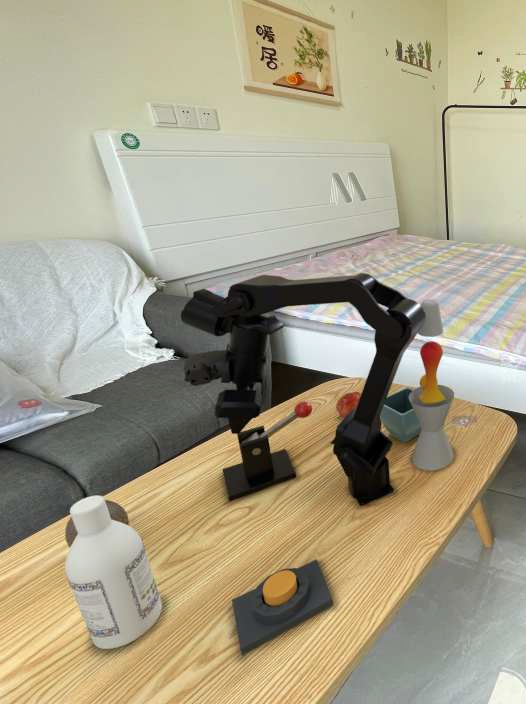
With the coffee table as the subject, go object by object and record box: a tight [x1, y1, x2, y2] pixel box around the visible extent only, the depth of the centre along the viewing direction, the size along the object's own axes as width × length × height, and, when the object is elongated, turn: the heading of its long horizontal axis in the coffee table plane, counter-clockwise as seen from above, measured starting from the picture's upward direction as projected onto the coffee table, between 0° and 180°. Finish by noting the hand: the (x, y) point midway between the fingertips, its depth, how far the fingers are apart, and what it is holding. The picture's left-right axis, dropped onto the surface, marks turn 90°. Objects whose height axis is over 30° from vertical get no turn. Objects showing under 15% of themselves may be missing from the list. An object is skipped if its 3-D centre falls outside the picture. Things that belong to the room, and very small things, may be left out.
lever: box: [242, 400, 313, 443], centre depth 84 cm, size 13×3×3 cm, turn 129°
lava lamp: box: [409, 298, 455, 472], centre depth 86 cm, size 9×9×35 cm
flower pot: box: [380, 387, 422, 443], centre depth 98 cm, size 9×9×9 cm
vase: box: [64, 499, 130, 549], centre depth 67 cm, size 7×7×9 cm
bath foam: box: [64, 494, 163, 650], centre depth 54 cm, size 7×7×20 cm
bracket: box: [221, 425, 297, 503], centre depth 83 cm, size 11×9×9 cm
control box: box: [231, 558, 334, 656], centre depth 60 cm, size 11×8×3 cm
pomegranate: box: [335, 391, 362, 420], centre depth 102 cm, size 7×7×10 cm
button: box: [263, 570, 297, 606], centre depth 60 cm, size 4×4×2 cm
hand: (238, 416), depth 80 cm, fingers open, 9 cm apart
